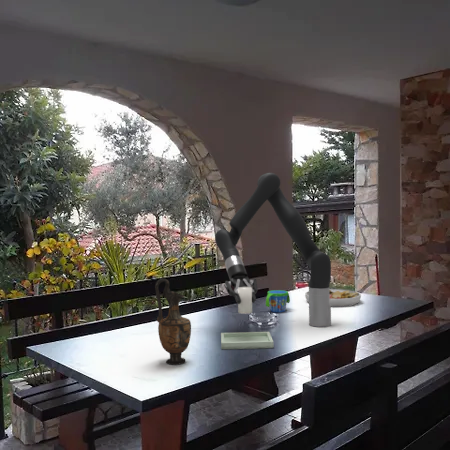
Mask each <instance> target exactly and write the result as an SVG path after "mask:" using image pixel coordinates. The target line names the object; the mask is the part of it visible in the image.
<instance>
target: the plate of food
mask: <svg viewBox="0 0 450 450" xmlns="http://www.w3.org/2000/svg"><path fill="white" fill-rule="evenodd" d="M361 297H362V296H361V293H360V292H358V291H354V290H349V289H338V288H337V289H335V288H329V298H330V305H331V308H332V307H333V308H339V307H341V308H342V307H351V306H354V305H356V304H358V303H359V302H360V301H361ZM304 298H305V299H306V301H307V302H308V303H309V290H308V291H306V292H305V297H304Z"/></svg>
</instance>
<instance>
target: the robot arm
mask: <svg viewBox="0 0 450 450" xmlns="http://www.w3.org/2000/svg"><path fill="white" fill-rule="evenodd" d="M280 187H281V179H280V177H279V175H277V174H276V173H274V172H266V173H263V174H262V175H260V176H259V177H258V179H257V187H256V189H255V191H254V192H253V193H252V195H251V196H250V197H249V198H248V200H247V201H245V203H244V204H243V205H241V207H240V208H239V209H238V210H237V212H236V213H235V214H234V215H233V217H232V218H231V219H230V221H229V223H228V224H229V226H230V230H227V229H223V228H222V229H219V230H217V231H216V233H215V235H214V236H215V237H214V241H215V244H216V245H217V248H218V249H219V250H218V251H220V253H221V255H222V258H223V260H224V264H225V268H226V272H227V275H228V278H229V281H228V280H225V282H224V284H223V286H224V288H225V290H226V291H227V293H228V295H229V296H230V297H234V299H235V302H236V303H237V305H238V304H240V303H241V299H240V296H239V294H238V288H239V287H252V304H254V303H255V302H256V300H257V297H256V294H257V292H258V289H259V288H258V283H257V279H256V278H253V279H250V278H249V276H248V272H247V270H246V268H245V264H244V262H243V259H242V257H241V255H240V252H239V250H238V248H237V247H236V246H237V245H238V243H239V240H240V238H241V236H242V234H243V231H244V230H245V228H246V227H247V226H248V224H249V223H250V222H251V220H252V219H253V218H254V217H255V215H256V214H257V213H258V211H259V210H260V208H261V207H262V206H263V204H265V203H266V202H267V201H268V203H269V204H270V205H271V207H272V208H273V211H274V213H275V215H276V216H277V218H278V220H279V221H280V223H281V225H282V226H283V228H284V230H285V231H286V233H287V234H288V235H289V237H290V239H292V241H293V243H294V244H295V245H296V246H297V248H298V249H299V251H300V253H301V254H302V257H303V259H304V261H305V263H306V265H307V266H308V268H309V269H310V279H309V280H308V291H309V302H308V324H309V326H311V327H315V328H316V327H318V328H323V327H324V328H325V327H331V326H332V307H331V305H330V298H329V289H330V282H331V280H332V262H331V258H330V256H329V255H328V254H327V253H325V252H322V250H320V249H319V247H318V246H317V245H316V243H315V242H314V240H313V239H312V236H311V234H310V230H309V228H308V224H307V223H306V221H305V220H304V218H303V217H302V215H301V213H300V212H299V210H298V209H297V208H296V207H295V206H294V205H293V203H292V202H290V201H289V200H288V199H287V197H286V196H285V194H284V193H283V191H282V189H281V188H280ZM232 287H233V288H234V289H233V288H232Z"/></svg>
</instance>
